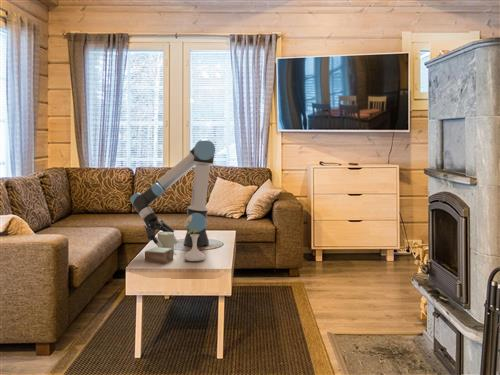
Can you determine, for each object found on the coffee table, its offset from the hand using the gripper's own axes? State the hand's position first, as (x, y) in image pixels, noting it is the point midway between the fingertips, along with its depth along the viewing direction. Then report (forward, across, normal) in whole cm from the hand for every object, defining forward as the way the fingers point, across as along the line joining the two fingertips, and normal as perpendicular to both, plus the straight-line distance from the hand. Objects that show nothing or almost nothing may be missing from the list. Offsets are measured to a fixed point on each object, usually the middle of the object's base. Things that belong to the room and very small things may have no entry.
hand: (169, 245), depth 281 cm
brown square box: (+8, +16, +1) cm, 18 cm away
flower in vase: (+19, +5, +11) cm, 22 cm away
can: (+2, 0, -5) cm, 6 cm away
